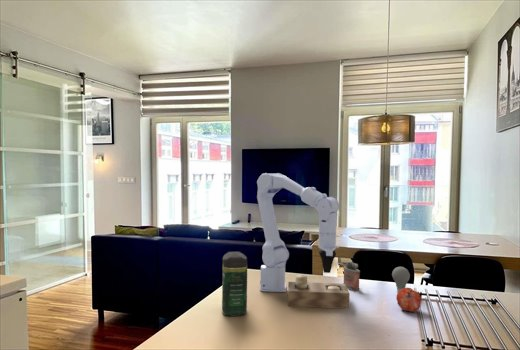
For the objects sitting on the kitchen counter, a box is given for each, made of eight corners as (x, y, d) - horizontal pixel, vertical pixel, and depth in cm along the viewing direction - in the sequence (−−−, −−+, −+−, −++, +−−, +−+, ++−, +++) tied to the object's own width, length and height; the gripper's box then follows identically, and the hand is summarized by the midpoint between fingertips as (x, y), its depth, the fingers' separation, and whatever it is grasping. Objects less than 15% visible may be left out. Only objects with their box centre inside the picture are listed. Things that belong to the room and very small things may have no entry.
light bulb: (410, 293, 130) (411, 266, 130) (407, 298, 125) (408, 270, 125) (393, 290, 134) (394, 264, 134) (390, 294, 129) (390, 267, 129)
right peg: (328, 304, 119) (328, 289, 119) (327, 299, 123) (327, 285, 123) (340, 304, 119) (340, 290, 119) (338, 300, 123) (338, 286, 123)
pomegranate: (395, 311, 119) (391, 301, 112) (401, 291, 122) (397, 280, 115) (419, 319, 115) (416, 309, 108) (424, 298, 118) (422, 286, 111)
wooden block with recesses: (288, 306, 117) (288, 291, 117) (288, 295, 127) (288, 281, 127) (349, 308, 116) (349, 293, 116) (344, 297, 126) (345, 283, 125)
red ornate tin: (341, 285, 139) (341, 260, 139) (347, 284, 140) (348, 259, 140) (354, 291, 132) (354, 265, 132) (361, 290, 133) (362, 264, 133)
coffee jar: (248, 316, 109) (248, 256, 109) (222, 317, 108) (223, 257, 107) (245, 304, 118) (245, 249, 118) (221, 306, 117) (221, 250, 117)
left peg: (295, 292, 120) (295, 278, 120) (295, 288, 124) (295, 274, 124) (307, 292, 120) (307, 278, 120) (307, 289, 124) (307, 275, 124)
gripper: (342, 236, 113) (341, 279, 114) (336, 229, 128) (335, 266, 128) (320, 236, 114) (319, 278, 114) (316, 228, 129) (316, 266, 129)
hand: (326, 272), depth 121 cm, fingers closed
